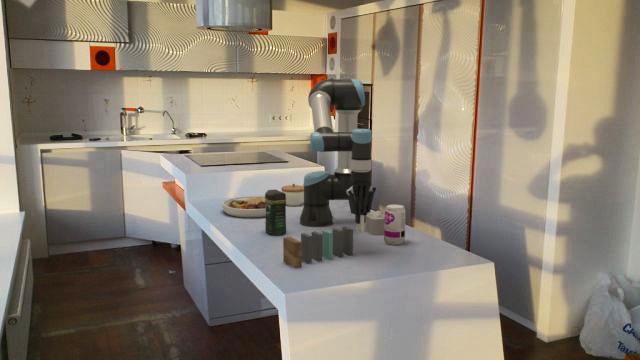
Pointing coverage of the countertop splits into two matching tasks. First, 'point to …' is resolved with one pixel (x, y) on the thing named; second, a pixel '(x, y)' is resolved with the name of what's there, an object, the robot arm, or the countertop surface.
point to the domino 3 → (327, 244)
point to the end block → (292, 251)
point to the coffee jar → (275, 212)
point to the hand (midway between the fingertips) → (360, 231)
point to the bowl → (245, 207)
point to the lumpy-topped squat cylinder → (375, 223)
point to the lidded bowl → (293, 194)
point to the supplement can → (394, 224)
